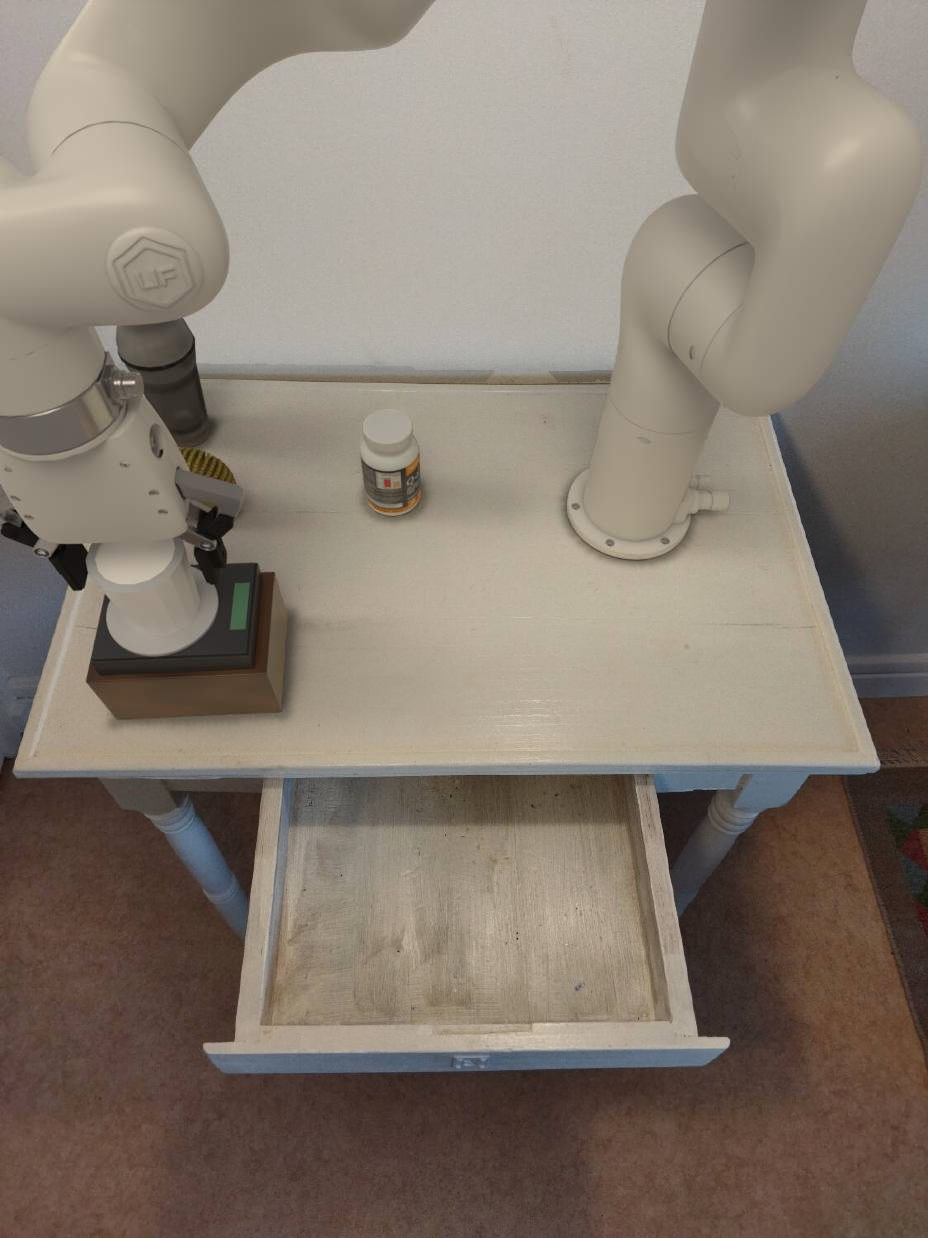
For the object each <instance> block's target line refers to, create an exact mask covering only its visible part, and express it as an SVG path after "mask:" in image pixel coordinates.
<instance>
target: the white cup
mask: <svg viewBox="0 0 928 1238" xmlns="http://www.w3.org/2000/svg"><path fill="white" fill-rule="evenodd" d="M184 542H185V541H184V540H182V539H180V538H178V537H174V538H170V539H164V540H152V541H134V542H112V543H90V545H89V548H88V550H87V551H88V554H87V557H86V565H87V570H88V576H89V577H90V578H91V580H92V581H93V582H94V583H95V585H96V586H97V587H99V589H100V590H101V591H102V592H103V593H104V595H105V594H106V596H107V597H108V598H109V599H110V600H111V601H112V602H113V604H114V605H115V606H116V607H117V608H118V609H119V611H120V612H121V613H122V614H123V615H124V616H125V618H126V619H127V620H128V621H129V622H130V623H131V624H132V625H133V627H134V628H135V629H136V630H137V631H139V632H141V633H144V634H146V635H149V636H165V635H168V634H172V633H175V632H178V631H180V630H181V629H182V628H184V627H185V626H187V625H188V624H190V623H191V621H192V620H193V618H194V617H195V616H196V614H197V613H198V609H199V605H200V598H199V594H198V590H197V587H196V584H195V580H194V577H193V573H192V570H191V566H190V565H191V563H190V560H189V557H188V552H187V549H186V546H185V543H184Z"/></svg>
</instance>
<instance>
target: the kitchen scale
mask: <svg viewBox="0 0 928 1238" xmlns="http://www.w3.org/2000/svg"><path fill="white" fill-rule="evenodd" d="M190 566H191V570H192V573H193V577H194V580H195V584H196V587H197V590H198V594H199V598H200V605H199V609H198V613H197V614H196V616H195V617H194V618H193V620H192V621H191V623H190V624H188V625H187V626H185V627H184V628H182V629H181V630H180V631H178V632H175V633H172V634H168V635H165V636H149V635H146V634H144V633H141V632H139V631H137V630H136V629H135V628H134V627H133V625H132V624H131V623H130V622H129V621H128V620H127V619H126V618H125V616H124V615H123V614H122V613H121V612H120V611H119V609H118V608H117V607H116V606H115V605H114V604H113V602H112V601H111V600H110V599H109V598H108V597H107V596H106V594H105V593H104V595H105V597H104V596H103V599H104V601H103V600H102V604H103V606H102V605H101V608H102V611H101V610H100V613H101V615H100V614H99V618H100V620H99V619H98V622H99V625H98V624H97V627H98V629H97V628H96V632H97V634H96V633H95V636H96V639H95V638H94V641H95V643H94V642H93V645H94V648H93V647H92V650H93V652H92V651H91V655H92V657H91V656H90V659H91V662H90V661H89V664H91V665H92V666H93V668H94V669H95V670H96V671H97V673H98V674H99V675H120V674H143V673H167V672H191V671H214V670H238V669H254V666H255V654H256V643H257V632H258V621H259V609H260V598H261V587H262V574H261V572H262V570H261V568H260V565H259V563H258V562H232V563H231V562H229V563H228V562H227V564H226V567H225V568H220V572H219V580H218V584H217V585H210V584H209V583H207V582H206V580H205V578H204V576H203V574H202V571H201V569H200V567H199V565H198V564H190Z"/></svg>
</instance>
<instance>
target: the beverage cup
mask: <svg viewBox="0 0 928 1238" xmlns="http://www.w3.org/2000/svg"><path fill="white" fill-rule="evenodd" d="M115 343H116V348H117V355H118V357H119V359H120V361H121V362H122V363H123V364H124V365H125V368H126V369H127V370H128V371H129V372H139V373H140V374H141V376H142V379H143V383H144V394H143V395H144V397H145V398H146V399H147V400H148V401H149V403H150V404H151V405H152V407H153V408H154V409H155V411H156V412H157V414H158V415H159V416H160V418H161V419H162V421H163V422H164V424H165V426H166V427H167V429H168V430H169V432H170V434H171V435H172V437H173V439H174V441H175V443H176V444H177V446H178V448H182V447H188V448H195V447H197V446H199V445H201V444H202V443H204V442H205V441H206V440H207V439H208V438H209V435H210V433H211V428H210V425H209V414H208V411H207V407H206V406H207V405H206V401H205V397H204V392H203V388H202V381H201V378H200V373H199V368H198V364H197V351H196V337H195V335H194V334H193V332H192V330H191V329H190V327H189V325H188V323H187V322H186V320H185V318H184V317H183V318H180V319H177V320H173V321H168V322H162V323H154V324H142V325H116V330H115Z"/></svg>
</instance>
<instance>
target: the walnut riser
mask: <svg viewBox="0 0 928 1238" xmlns="http://www.w3.org/2000/svg"><path fill="white" fill-rule="evenodd" d="M261 574H262V587H261V598H260V609H259V621H258V632H257V643H256V654H255V666H254V669H238V670H214V671H191V672H167V673H143V674H120V675H99V674H98V673H97V671H96V670H95V669H94V668H93V666H92V665H91V664H90V662H91V657H92V654H91V655H90V660H89V664H88V669H87V674H86V677H85V683H86V684H87V685H88V686H89V688H90V689H91V690H92V692H93V693H94V694H95V695H96V696H97V698H98V699H99V700H100V701H101V702H102V704H103V705H104V707H106V709H107V710H108V711H109V712H110V713H111V714H112V716H113V717H114V718H115V719H116V720H130V719H131V720H135V719H136V720H137V719H155V718H159V719H160V718H179V717H197V716H198V717H201V716H202V717H203V716H221V715H223V716H225V715H243V714H264V713H266V714H268V713H282V711H283V709H282V708H283V697H284V696H283V695H284V683H285V682H284V681H285V679H284V678H285V663H286V649H287V635H288V619H289V614H288V611H287V607H286V605H285V602H284V601H285V600H284V597H283V594H282V591H281V588H280V583H279V582H278V578H277V575H276V572H275V571H261ZM104 597H105V594H103V599H102V602H103V601H104ZM102 606H103V603H102V605H101V609H100V614H99V616H100V615H101V611H102ZM99 620H100V617H99V618H98V623H97V628H96V630H97V629H98V625H99ZM96 634H97V631H96V632H95V636H94V641H93V645H92V651H91V653H92V652H93V648H94V643H95V639H96Z"/></svg>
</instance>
